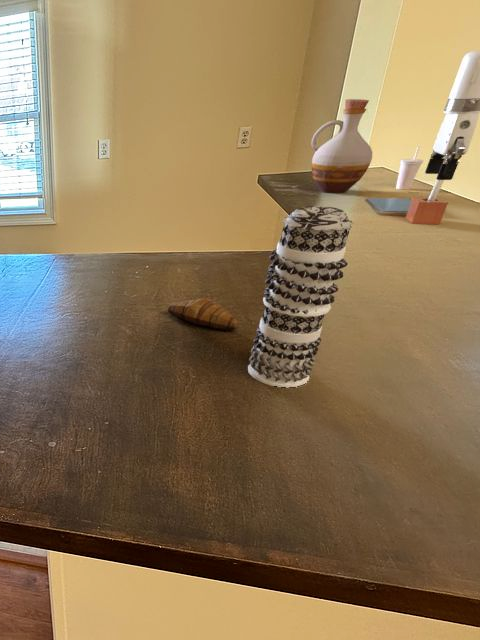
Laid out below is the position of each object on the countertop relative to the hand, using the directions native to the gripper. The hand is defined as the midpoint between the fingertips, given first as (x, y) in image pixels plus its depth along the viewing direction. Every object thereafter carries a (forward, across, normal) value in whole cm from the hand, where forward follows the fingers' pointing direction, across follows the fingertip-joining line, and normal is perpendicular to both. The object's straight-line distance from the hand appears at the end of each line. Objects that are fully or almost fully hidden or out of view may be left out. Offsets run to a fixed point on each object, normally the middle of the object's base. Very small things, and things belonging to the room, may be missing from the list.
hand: (437, 176), depth 131 cm
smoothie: (+12, +48, -6) cm, 50 cm away
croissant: (+14, -84, +55) cm, 101 cm away
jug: (+12, +43, +17) cm, 47 cm away
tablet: (+12, +17, +2) cm, 21 cm away
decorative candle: (+13, -100, +43) cm, 110 cm away
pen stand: (+12, 0, 0) cm, 12 cm away
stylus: (+12, 0, 0) cm, 12 cm away
